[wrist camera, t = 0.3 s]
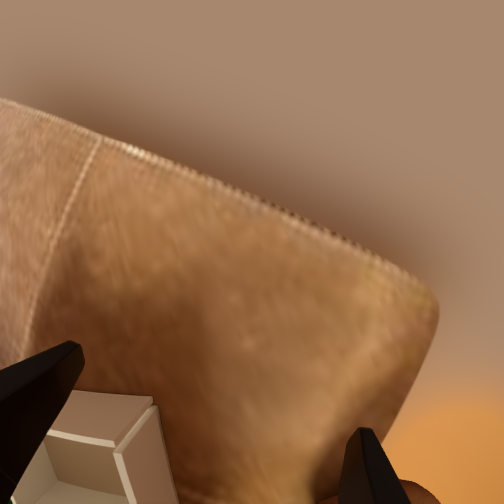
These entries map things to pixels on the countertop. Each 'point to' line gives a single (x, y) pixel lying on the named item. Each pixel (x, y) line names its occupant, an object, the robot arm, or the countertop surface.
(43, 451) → the carton
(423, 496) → the butternut squash
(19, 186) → the countertop surface
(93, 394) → the carton flap
